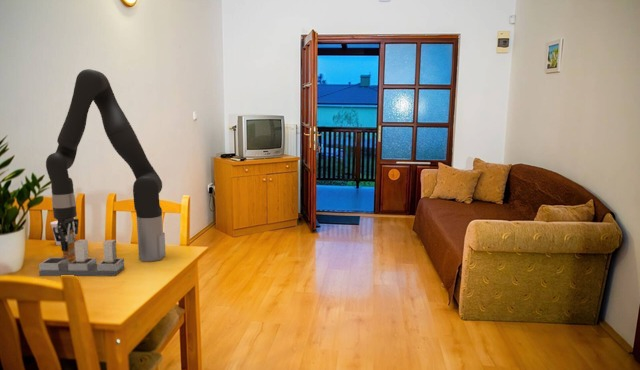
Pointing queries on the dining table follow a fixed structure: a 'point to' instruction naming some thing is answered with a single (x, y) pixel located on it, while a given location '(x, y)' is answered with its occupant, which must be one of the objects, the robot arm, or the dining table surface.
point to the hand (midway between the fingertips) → (68, 248)
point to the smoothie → (53, 224)
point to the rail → (84, 262)
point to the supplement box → (69, 246)
